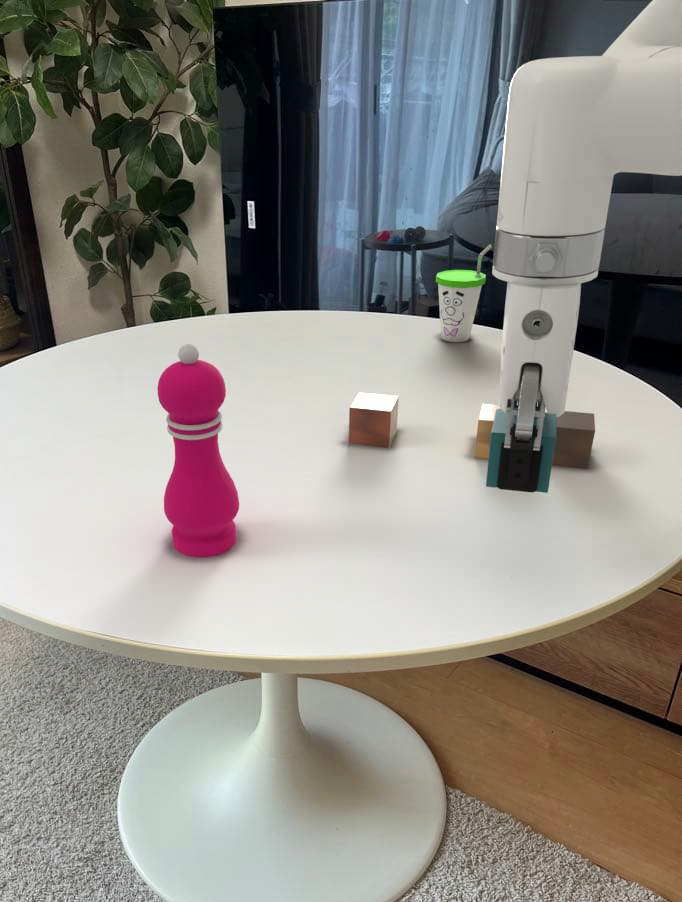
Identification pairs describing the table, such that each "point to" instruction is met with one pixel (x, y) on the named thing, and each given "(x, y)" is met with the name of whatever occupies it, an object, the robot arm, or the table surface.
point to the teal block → (546, 441)
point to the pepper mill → (197, 458)
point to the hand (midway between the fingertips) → (518, 471)
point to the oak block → (485, 430)
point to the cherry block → (373, 420)
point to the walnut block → (574, 439)
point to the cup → (459, 300)
